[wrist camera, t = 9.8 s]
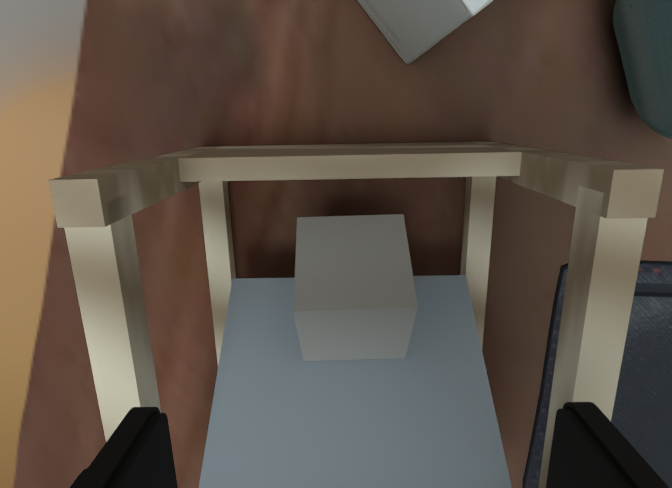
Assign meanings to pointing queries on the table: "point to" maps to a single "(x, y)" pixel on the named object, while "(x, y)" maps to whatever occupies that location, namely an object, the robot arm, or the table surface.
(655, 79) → the flower pot
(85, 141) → the table surface
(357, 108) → the table surface
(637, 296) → the wallet
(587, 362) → the frame
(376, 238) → the cube
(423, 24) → the supplement box
